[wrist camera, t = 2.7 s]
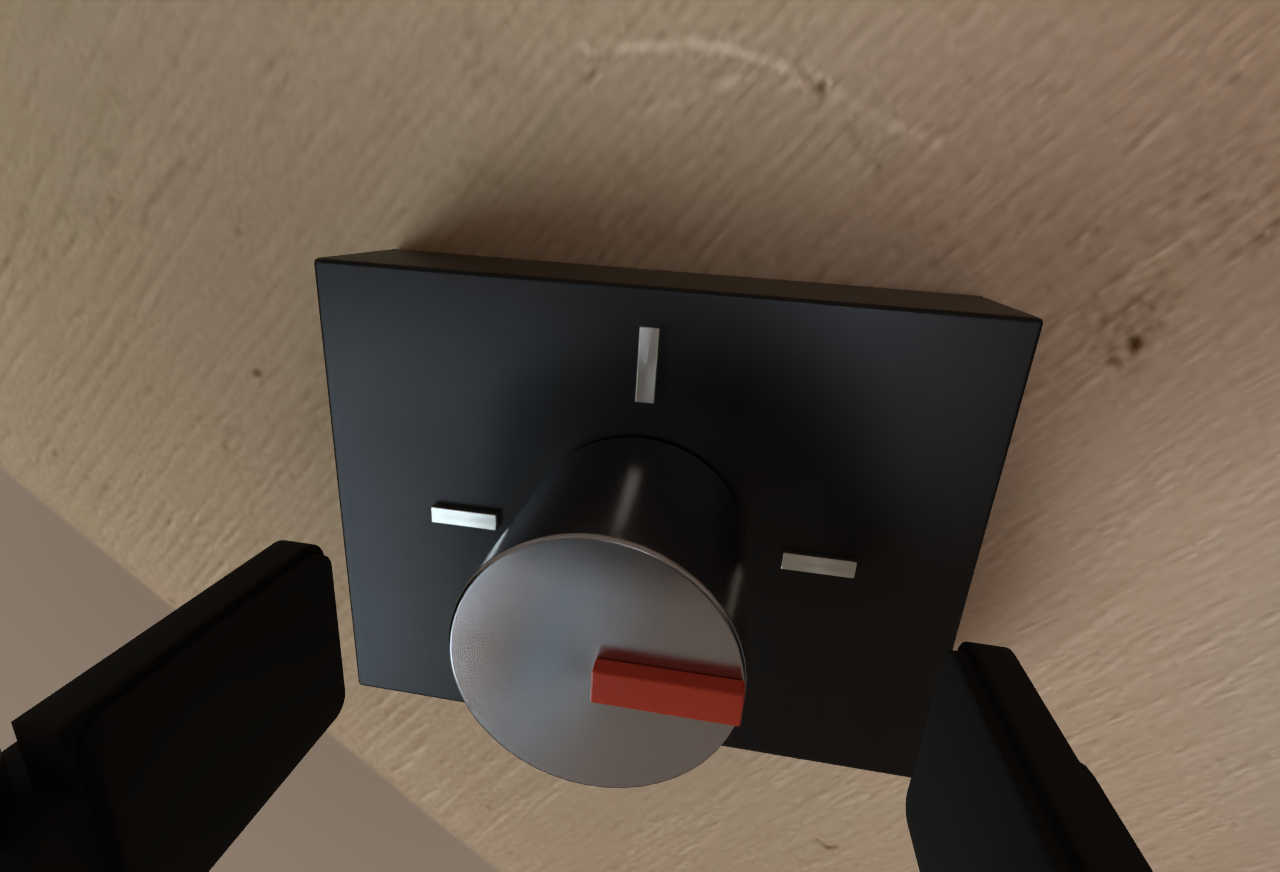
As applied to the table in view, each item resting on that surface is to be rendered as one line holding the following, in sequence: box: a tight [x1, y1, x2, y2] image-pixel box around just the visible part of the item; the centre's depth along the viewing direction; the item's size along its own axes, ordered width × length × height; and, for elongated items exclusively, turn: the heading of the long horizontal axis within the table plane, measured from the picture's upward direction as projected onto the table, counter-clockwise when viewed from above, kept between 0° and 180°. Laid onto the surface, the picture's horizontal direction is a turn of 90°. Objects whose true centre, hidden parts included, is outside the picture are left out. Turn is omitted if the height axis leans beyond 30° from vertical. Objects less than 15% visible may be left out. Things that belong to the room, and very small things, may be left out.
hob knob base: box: [314, 249, 1043, 777], centre depth 14 cm, size 13×10×3 cm
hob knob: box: [448, 437, 747, 788], centre depth 11 cm, size 4×4×4 cm
